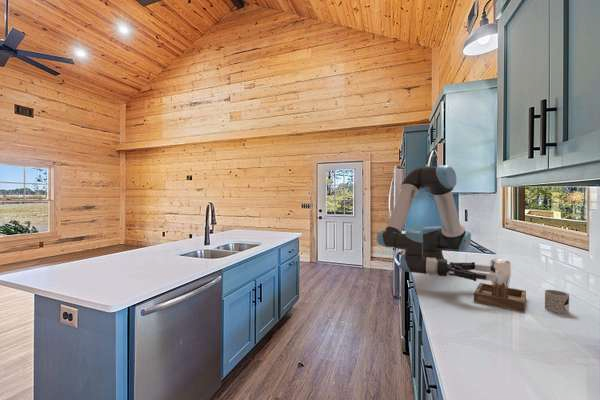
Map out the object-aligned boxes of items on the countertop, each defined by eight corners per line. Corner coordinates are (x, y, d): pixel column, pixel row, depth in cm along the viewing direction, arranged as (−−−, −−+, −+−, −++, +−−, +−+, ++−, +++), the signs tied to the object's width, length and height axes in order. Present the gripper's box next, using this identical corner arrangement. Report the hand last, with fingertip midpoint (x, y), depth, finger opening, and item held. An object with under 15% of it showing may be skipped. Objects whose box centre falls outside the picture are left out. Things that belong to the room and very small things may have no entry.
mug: (570, 316, 100) (570, 297, 100) (545, 311, 104) (545, 293, 104) (566, 306, 108) (566, 289, 108) (543, 302, 112) (543, 286, 112)
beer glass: (514, 301, 111) (515, 263, 111) (497, 301, 111) (497, 263, 111) (502, 294, 118) (503, 259, 118) (485, 294, 118) (486, 259, 118)
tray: (480, 290, 126) (480, 282, 126) (525, 299, 115) (526, 290, 115) (473, 301, 114) (473, 292, 114) (524, 311, 103) (524, 302, 103)
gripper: (439, 268, 137) (491, 274, 126) (434, 283, 115) (497, 291, 105) (439, 253, 136) (491, 258, 126) (434, 265, 115) (498, 271, 104)
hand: (494, 273), depth 115 cm, fingers open, 13 cm apart
